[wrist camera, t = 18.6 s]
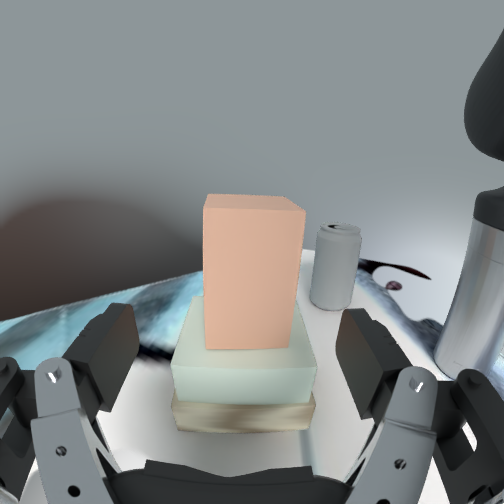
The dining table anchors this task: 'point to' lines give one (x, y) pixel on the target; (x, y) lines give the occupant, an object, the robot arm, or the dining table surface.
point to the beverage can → (335, 265)
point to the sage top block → (241, 367)
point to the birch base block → (241, 416)
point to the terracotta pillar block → (250, 270)
